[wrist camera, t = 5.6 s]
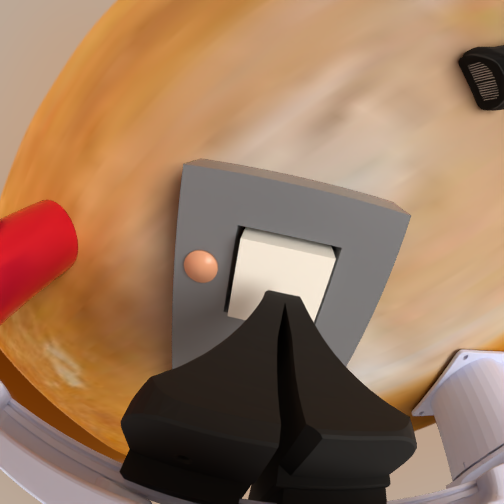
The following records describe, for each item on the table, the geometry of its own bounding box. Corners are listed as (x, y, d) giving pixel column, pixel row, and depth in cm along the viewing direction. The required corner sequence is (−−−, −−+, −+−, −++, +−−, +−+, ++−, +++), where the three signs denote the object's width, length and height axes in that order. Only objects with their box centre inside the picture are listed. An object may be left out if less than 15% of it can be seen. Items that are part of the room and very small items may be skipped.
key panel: (393, 201, 13) (412, 216, 11) (285, 441, 23) (283, 464, 20) (200, 158, 14) (181, 164, 11) (182, 419, 23) (175, 441, 21)
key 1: (326, 233, 14) (335, 258, 11) (307, 297, 16) (309, 333, 13) (250, 216, 15) (240, 238, 12) (238, 283, 16) (227, 316, 13)
